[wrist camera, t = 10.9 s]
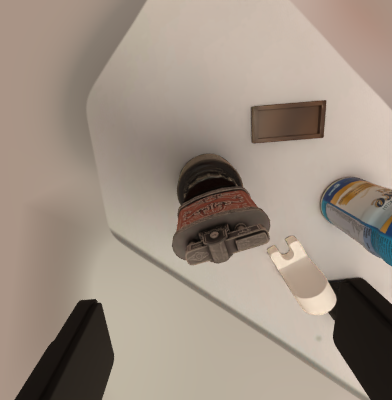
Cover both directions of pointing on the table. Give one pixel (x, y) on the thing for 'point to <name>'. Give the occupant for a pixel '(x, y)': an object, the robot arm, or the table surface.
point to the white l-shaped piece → (304, 278)
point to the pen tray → (288, 121)
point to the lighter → (219, 226)
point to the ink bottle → (206, 176)
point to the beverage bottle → (361, 213)
